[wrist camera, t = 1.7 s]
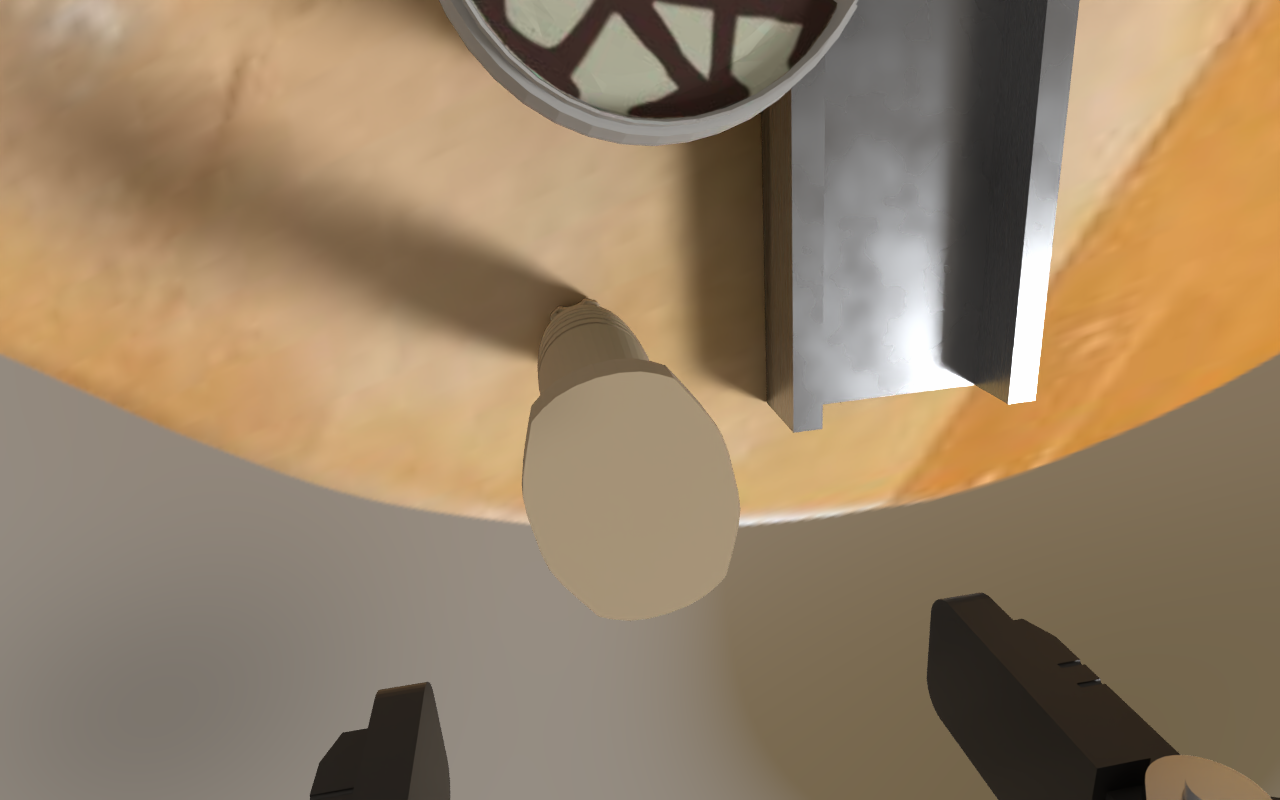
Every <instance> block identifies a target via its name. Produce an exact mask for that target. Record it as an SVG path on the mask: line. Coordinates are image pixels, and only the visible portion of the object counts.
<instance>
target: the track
mask: <svg viewBox="0 0 1280 800" xmlns="http://www.w3.org/2000/svg"><path fill="white" fill-rule="evenodd" d="M856 5H857V6H858V7H857V8H856V10H855V12H854V13H853V15H852V16H851V18H850V20H849V21H848V23H847V25H846V26H845V28H844V29H843V31H842V33H841V34H840V36H839V38H838V39H837V40H836V41H835V42H834V44H833V45H832V46H831V47H830V49H829V50H828V51H827V52H826V53H825V55H824V56H823V57H822V58H821V60H820V61H819V62H818V63H817V65H816V66H815V67H814V68H813V69H812V70H810V71H809V72H808V73H807V74H806V75H805V76H804V77H803V78H802V79H801V80H800V81H798V82H797V83H796V84H795V85H794V86H793V87H792V88H791V89H790V90H789V91H788V92H786V93H785V94H784V95H783V96H782V97H781V98H780V99H779V100H777V101H776V102H774V103H773V104H772V105H770V106H769V107H767V108H766V109H764V110H763V111H761V119H762V172H763V224H764V277H765V329H766V382H767V403H768V405H769V406H770V407H771V408H772V409H773V410H774V411H775V412H776V413H777V415H778V416H779V417H780V418H781V419H782V420H783V421H784V422H785V424H786V425H787V426H788V427H789V428H790V429H791V430H792V431H793V433H794V432H801V431H809V430H816V429H822V408H823V404H829V403H837V402H845V401H853V400H860V399H868V398H876V397H884V396H892V395H899V394H907V393H915V392H923V391H930V390H938V389H946V388H954V387H961V386H969V385H976V386H978V387H979V388H981V389H983V390H985V391H986V392H988V393H990V394H992V395H993V396H995V397H997V398H998V399H1000V400H1002V401H1004V402H1005V403H1007V404H1013V403H1020V402H1028V401H1035V397H1036V388H1037V379H1038V370H1039V361H1040V352H1041V343H1042V334H1043V325H1044V316H1045V307H1046V298H1047V289H1048V280H1049V271H1050V262H1051V253H1052V243H1053V234H1054V225H1055V216H1056V207H1057V198H1058V189H1059V180H1060V171H1061V162H1062V153H1063V144H1064V135H1065V126H1066V117H1067V108H1068V99H1069V90H1070V81H1071V72H1072V63H1073V54H1074V45H1075V36H1076V27H1077V18H1078V9H1079V0H858V2H857V3H856Z"/></svg>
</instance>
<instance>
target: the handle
mask: <svg viewBox="0 0 1280 800" xmlns="http://www.w3.org/2000/svg"><path fill="white" fill-rule="evenodd" d="M550 320H551V322H550V324H549V325H548V327H547V328H546V330H545V332H544V334H543V336H542V340H541V343H540V347H539V355H538V381H539V391H540V396H539V398H538V399H537V400H536V401H535V402H534V404H533V405H532V406H531V411H530V417H529V423H528V429H527V435H526V441H525V449H524V458H523V474H522V491H523V499H524V504H525V508H526V512H527V516H528V519H529V522H530V524H531V527H532V530H533V532H534V535H535V538H536V541H537V544H538V546H539V549H540V552H541V554H542V556H543V558H544V560H545V562H546V564H547V566H548V568H549V570H550V571H551V572H552V573H553V574H554V576H555V577H556V578H557V579H558V580H559V581H560V582H561V584H562V585H564V586H565V587H566V588H567V589H568V590H569V591H570V592H571V593H572V594H573V595H575V596H576V597H577V598H578V599H579V600H580V601H581V602H583V603H584V604H585V605H586V606H587V607H588V608H590V609H591V610H592V611H593V612H594V613H595V614H596V615H598V616H599V617H604V618H609V619H615V620H628V621H630V620H640V619H649V618H652V617H656V616H661V615H664V614H668V613H671V612H673V611H676V610H679V609H681V608H683V607H686V606H688V605H690V604H692V603H693V602H695V601H697V600H699V599H701V598H702V597H704V596H705V595H706V594H708V593H709V592H710V591H711V590H712V589H714V588H715V587H716V586H717V585H718V584H719V583H720V582H721V581H722V580H723V579H724V578H725V577H726V574H727V570H728V567H729V563H730V559H731V556H732V552H733V548H734V543H735V539H736V535H737V531H738V526H739V517H740V503H739V495H738V489H737V485H736V480H735V476H734V472H733V468H732V464H731V460H730V456H729V453H728V450H727V447H726V444H725V442H724V439H723V436H722V434H721V433H720V431H719V429H718V427H717V425H716V424H715V423H714V421H713V420H712V419H711V417H710V416H709V415H708V413H707V412H706V411H705V409H704V408H703V407H702V405H701V404H700V403H699V402H698V401H697V400H696V398H695V397H694V396H693V395H692V394H691V393H690V391H689V390H688V389H687V388H686V387H685V386H684V385H683V384H682V383H681V382H680V380H679V379H678V378H677V377H676V376H675V375H674V374H673V373H672V372H671V371H670V370H669V369H668V368H667V367H666V366H665V365H662V364H659V363H655V362H652V361H649V359H648V356H647V354H646V353H645V351H644V349H643V347H642V346H641V344H640V342H639V341H638V339H637V337H636V336H635V335H634V333H633V332H632V331H631V330H630V328H629V327H628V326H627V325H626V324H625V323H624V322H623V321H622V320H621V319H620V318H619V317H618V316H616V315H615V314H613V313H612V312H610V311H608V310H606V309H604V308H601V307H600V306H599V304H598V303H597V302H596V301H595V300H591V299H583V300H582V301H581V302H580V303H578V304H576V305H573V306H569V307H562V306H558V307H557V308H556V309H555V310H554V311H553V312H552V313H551V316H550Z"/></svg>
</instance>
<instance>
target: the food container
mask: <svg viewBox="0 0 1280 800" xmlns="http://www.w3.org/2000/svg"><path fill="white" fill-rule="evenodd" d="M439 1H440V3H441V5H442V7H443V10H444V12H445V14H446V16H447V17H448V19H449V20H450V22H451V23H452V25H453V26H454V28H455V29H456V31H457V33H458V34H459V36H460V37H461V39H462V40H463V42H464V43H465V45H466V46H467V48H468V49H469V51H470V52H471V53H472V54H473V55H474V56H475V57H476V59H477V60H478V61H479V62H480V63H481V64H482V65H483V67H484V68H485V69H486V70H487V71H488V72H489V73H490V75H491V76H492V77H493V78H494V79H495V80H496V81H497V82H498V83H500V84H501V85H502V86H503V87H504V88H505V89H507V90H508V91H509V92H510V93H511V94H513V95H514V96H515V97H516V98H517V99H518V100H520V101H521V102H522V103H523V104H525V105H526V106H528V107H530V108H531V109H533V110H534V111H536V112H538V113H539V114H541V115H543V116H544V117H546V118H547V119H549V120H551V121H552V122H554V123H556V124H559V125H561V126H563V127H566V128H568V129H571V130H573V131H576V132H578V133H580V134H583V135H585V136H588V137H592V138H597V139H601V140H605V141H610V142H614V143H618V144H629V145H645V146H659V145H668V144H678V143H687V142H691V141H694V140H698V139H701V138H705V137H708V136H712V135H715V134H719V133H721V132H723V131H726V130H728V129H730V128H732V127H734V126H736V125H738V124H741V123H743V122H745V121H747V120H749V119H751V118H752V117H754V116H755V115H757V114H758V113H760V112H761V111H763V110H764V109H766V108H767V107H769V106H770V105H772V104H773V103H774V102H776V101H777V100H779V99H780V98H781V97H782V96H783V95H784V94H785V93H786V92H788V91H789V90H790V89H791V88H792V87H793V86H794V85H795V84H796V83H797V82H798V81H800V80H801V79H802V78H803V77H804V76H805V75H806V74H807V73H808V72H809V71H810V70H812V69H813V68H814V67H815V66H816V65H817V63H818V62H819V61H820V60H821V58H822V57H823V56H824V55H825V53H826V52H827V51H828V50H829V49H830V47H831V46H832V45H833V44H834V42H835V41H836V40H837V39H838V38H839V36H840V34H841V33H842V31H843V29H844V28H845V26H846V25H847V23H848V21H849V20H850V18H851V16H852V15H853V13H854V12H855V10H856V8H857V7H858V6H857V5H856V3H857V2H858V0H439Z"/></svg>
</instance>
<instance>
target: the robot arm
mask: <svg viewBox="0 0 1280 800" xmlns="http://www.w3.org/2000/svg"><path fill="white" fill-rule="evenodd" d="M927 684H928V690H929V694H930V698H931V701H932V704H933V706H934V708H935V711H936V712H937V714H938V716H939V717H940V719H941V721H942V722H943V723H944V725H945V726H946V727H947V729H948V730H949V732H950V733H951V734H952V736H953V737H954V739H955V740H956V741H957V743H958V744H959V745H960V747H961V748H962V749H963V751H964V752H965V754H966V755H967V757H968V758H969V760H970V761H971V762H972V764H973V765H974V766H975V768H976V769H977V771H978V772H979V773H980V775H981V776H982V778H983V779H984V780H985V782H986V783H987V785H988V786H989V787H990V789H991V790H992V792H993V793H994V794H995V796H996V797H997V799H998V800H1280V798H1276V797H1270V796H1269V795H1268V794H1267V793H1266V792H1265V791H1264V790H1263V789H1262V788H1261V787H1260V786H1258V785H1257V784H1256V783H1254V782H1253V781H1252V780H1250V779H1249V778H1247V777H1246V776H1244V775H1242V774H1240V773H1239V772H1237V771H1235V770H1233V769H1231V768H1229V767H1227V766H1225V765H1222V764H1220V763H1218V762H1215V761H1211V760H1208V759H1205V758H1200V757H1195V756H1187V755H1180V754H1179V753H1178V752H1177V751H1176V750H1175V749H1174V748H1173V747H1171V745H1169V744H1168V743H1167V742H1166V741H1165V740H1164V739H1163V738H1162V737H1161V736H1160V735H1159V734H1158V733H1157V732H1156V731H1155V730H1153V728H1152V727H1150V726H1149V725H1148V724H1147V723H1146V722H1145V721H1144V720H1143V719H1142V718H1141V717H1140V716H1139V715H1138V714H1137V713H1136V712H1135V711H1134V710H1132V709H1131V708H1130V707H1129V706H1128V705H1127V704H1126V703H1125V702H1124V701H1123V700H1122V699H1121V698H1120V697H1119V696H1118V695H1117V694H1116V693H1114V692H1113V691H1112V690H1111V689H1110V688H1109V687H1108V686H1107V685H1106V684H1102V683H1101V681H1100V678H1099V677H1098V676H1096V674H1094V673H1093V672H1092V671H1091V670H1090V669H1089V668H1088V667H1087V666H1086V665H1082V664H1081V663H1080V659H1079V658H1078V657H1077V656H1076V655H1074V654H1073V653H1072V652H1071V651H1070V650H1069V649H1068V648H1067V647H1066V646H1065V645H1064V644H1063V643H1061V641H1060V640H1059V639H1057V638H1056V637H1055V636H1053V635H1052V634H1050V633H1048V632H1045V631H1044V630H1042V629H1041V628H1039V627H1037V626H1035V625H1033V624H1031V623H1029V622H1028V621H1026V620H1024V619H1019V620H1012V619H1011V618H1010V617H1009V616H1008V615H1007V614H1006V613H1005V612H1004V611H1003V610H1002V609H1001V608H1000V607H999V606H998V605H997V604H996V603H995V602H994V601H993V600H992V599H991V598H990V597H989V596H988V595H986V594H984V593H975V594H969V595H963V596H957V597H951V598H944V599H938V600H936V601H935V602H934V604H933V606H932V610H931V622H930V638H929V652H928V667H927ZM310 800H450V777H449V767H448V761H447V755H446V751H445V746H444V741H443V736H442V732H441V727H440V722H439V717H438V712H437V707H436V703H435V698H434V694H433V689H432V687H431V684H430V683H429V682H425V683H418V684H412V685H406V686H400V687H394V688H388V689H382V690H379V691H378V692H377V694H376V697H375V700H374V705H373V709H372V713H371V718H370V722H369V726H368V728H367V729H361V730H356V731H350V732H345V733H342V734H341V735H340V737H339V738H338V739H337V741H336V742H335V743H334V745H333V746H332V747H331V748H330V750H329V751H328V752H327V754H326V755H325V756H324V758H323V759H322V760H321V761H320V763H319V766H318V769H317V773H316V776H315V779H314V783H313V786H312V789H311V793H310Z"/></svg>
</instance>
